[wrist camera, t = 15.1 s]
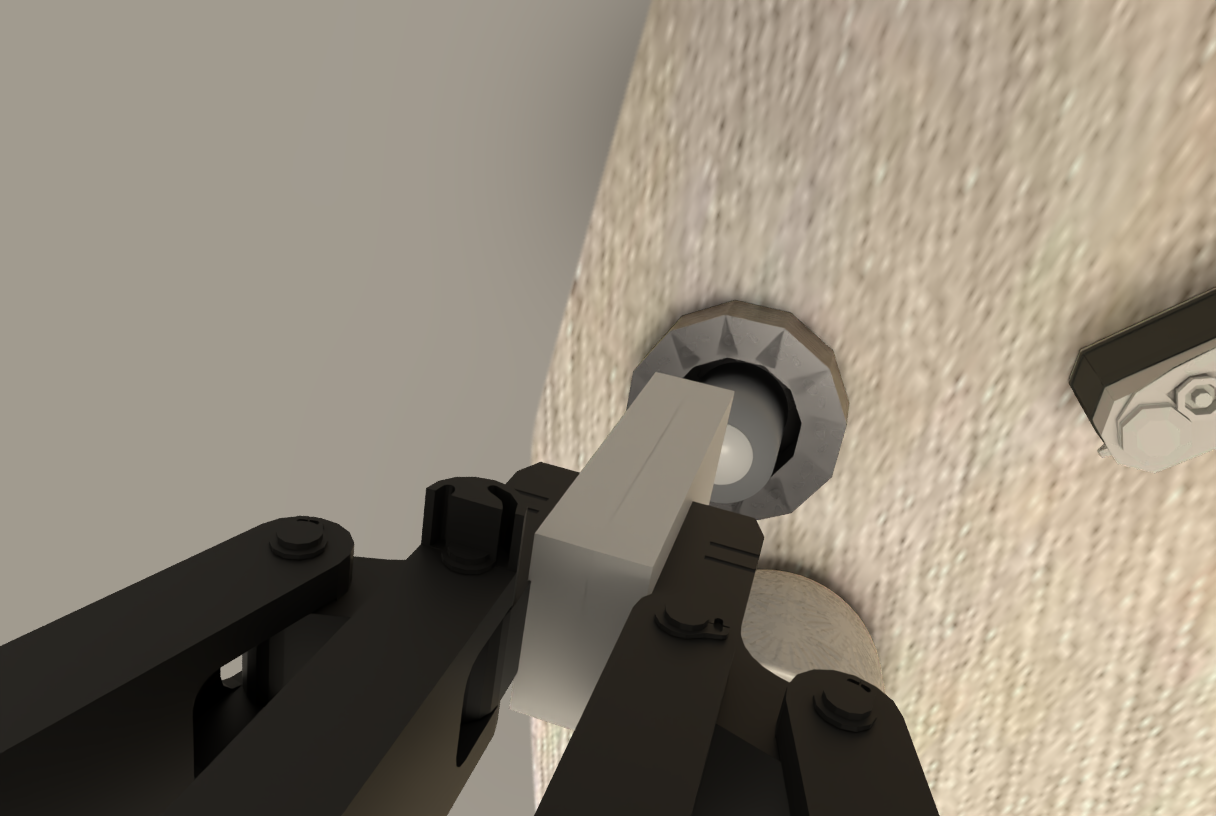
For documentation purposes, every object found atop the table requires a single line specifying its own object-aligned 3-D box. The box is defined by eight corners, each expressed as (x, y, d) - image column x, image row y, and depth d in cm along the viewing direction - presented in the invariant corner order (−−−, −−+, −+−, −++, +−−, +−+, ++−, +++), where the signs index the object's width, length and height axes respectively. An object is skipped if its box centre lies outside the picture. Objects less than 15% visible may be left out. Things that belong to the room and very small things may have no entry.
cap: (700, 352, 47) (676, 390, 42) (798, 375, 46) (786, 417, 41) (682, 440, 49) (656, 488, 44) (776, 464, 48) (761, 516, 43)
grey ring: (660, 283, 47) (646, 296, 44) (869, 330, 45) (868, 347, 42) (626, 467, 51) (612, 489, 48) (816, 518, 49) (812, 545, 46)
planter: (781, 502, 49) (753, 612, 39) (940, 665, 50) (953, 813, 40) (625, 623, 55) (566, 747, 45) (770, 769, 55) (745, 923, 45)
